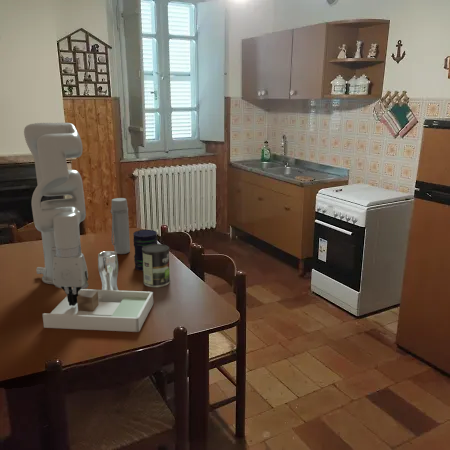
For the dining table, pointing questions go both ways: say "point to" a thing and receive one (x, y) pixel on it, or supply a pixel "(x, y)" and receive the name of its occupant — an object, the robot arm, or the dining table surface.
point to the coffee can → (156, 265)
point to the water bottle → (120, 226)
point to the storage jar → (142, 245)
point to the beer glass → (108, 269)
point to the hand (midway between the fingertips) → (73, 303)
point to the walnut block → (87, 300)
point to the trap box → (104, 312)
